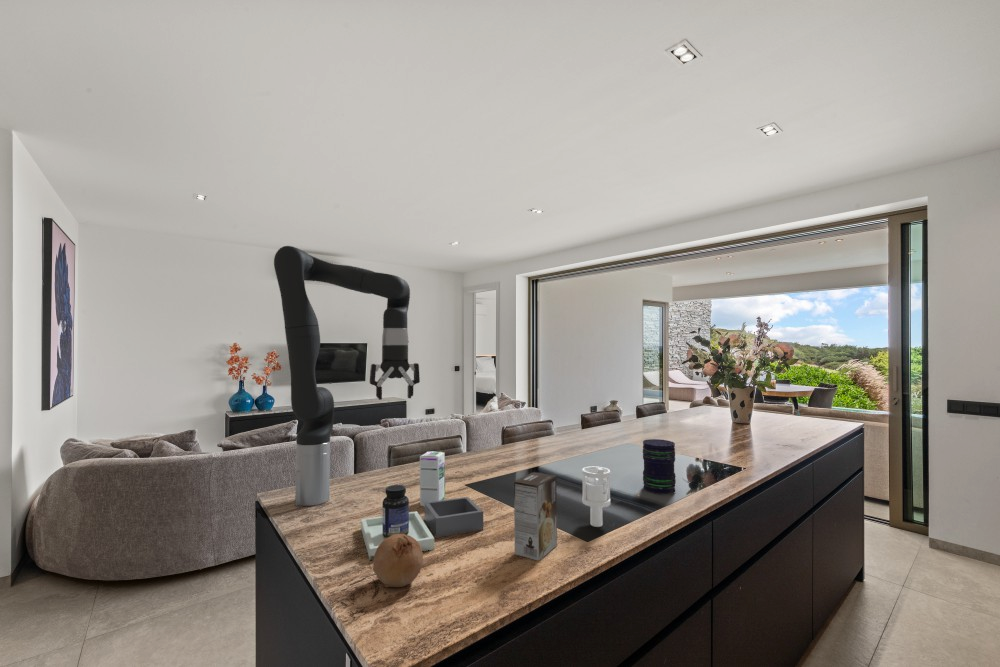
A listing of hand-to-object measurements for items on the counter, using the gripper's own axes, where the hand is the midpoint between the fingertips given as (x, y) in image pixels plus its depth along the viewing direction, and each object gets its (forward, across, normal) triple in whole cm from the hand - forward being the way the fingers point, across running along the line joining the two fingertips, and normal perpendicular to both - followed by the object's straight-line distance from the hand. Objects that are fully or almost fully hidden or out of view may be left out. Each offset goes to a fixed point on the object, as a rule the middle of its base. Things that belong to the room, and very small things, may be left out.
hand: (394, 398), depth 133 cm
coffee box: (+30, -24, +44) cm, 59 cm away
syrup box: (+30, -10, +6) cm, 32 cm away
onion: (+30, +7, +46) cm, 56 cm away
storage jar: (+30, -80, +21) cm, 88 cm away
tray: (+30, +4, +26) cm, 40 cm away
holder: (+30, -11, +23) cm, 39 cm away
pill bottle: (+29, +4, +26) cm, 39 cm away
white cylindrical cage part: (+30, -45, +37) cm, 66 cm away
